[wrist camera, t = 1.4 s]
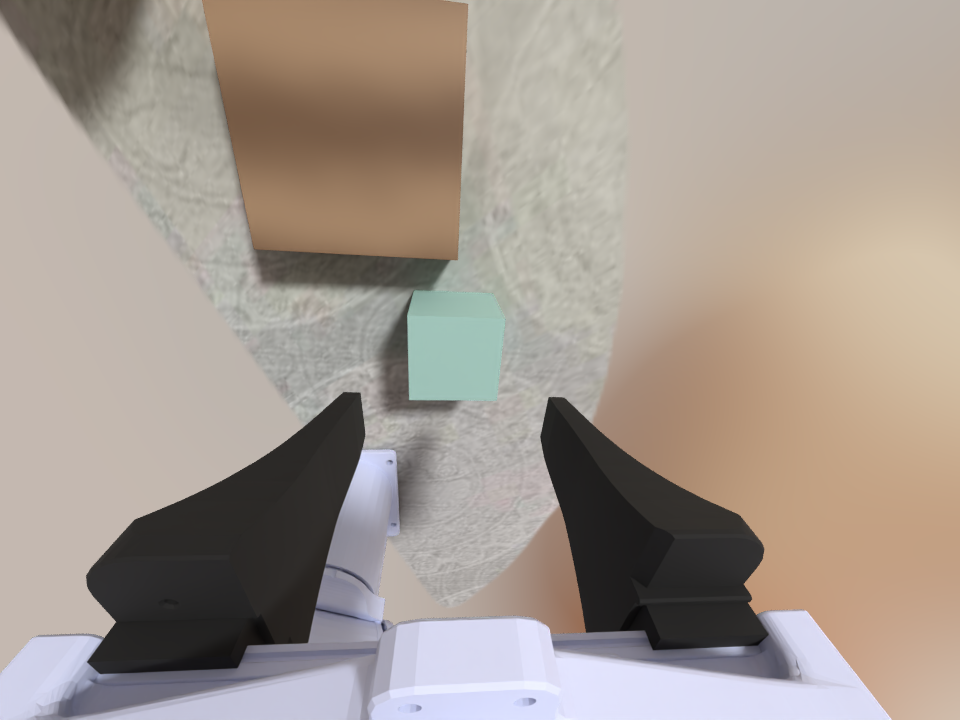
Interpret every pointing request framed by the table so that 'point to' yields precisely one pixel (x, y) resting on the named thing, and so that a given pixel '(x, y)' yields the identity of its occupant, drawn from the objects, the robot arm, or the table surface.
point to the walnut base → (345, 121)
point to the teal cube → (454, 345)
